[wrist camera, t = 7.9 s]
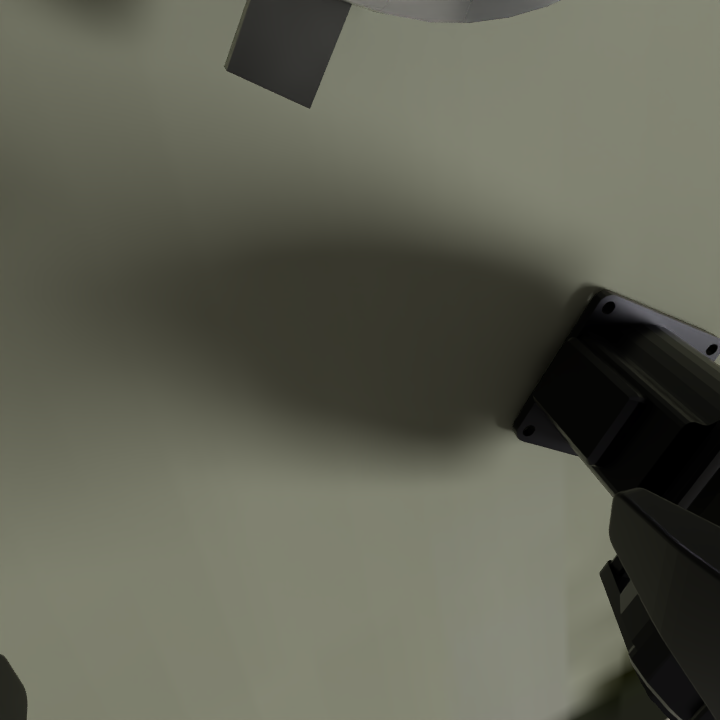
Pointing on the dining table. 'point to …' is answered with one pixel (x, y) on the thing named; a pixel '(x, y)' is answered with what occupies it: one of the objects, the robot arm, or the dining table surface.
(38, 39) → the dining table surface
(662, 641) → the robot arm
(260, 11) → the pot
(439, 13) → the lid
